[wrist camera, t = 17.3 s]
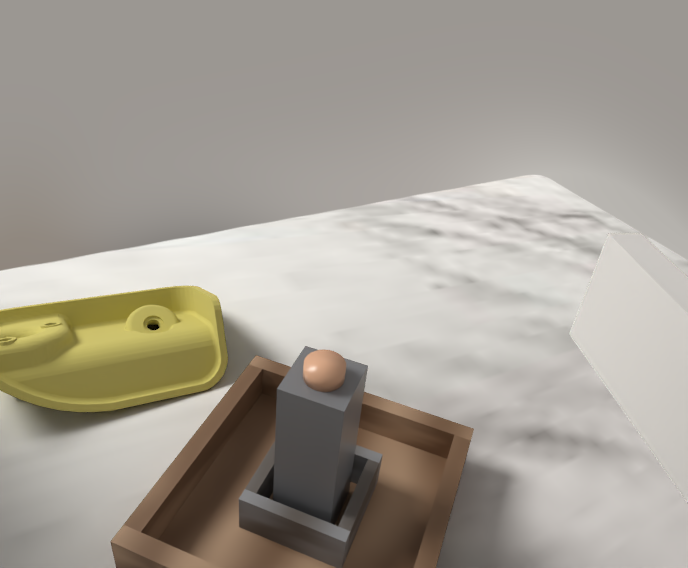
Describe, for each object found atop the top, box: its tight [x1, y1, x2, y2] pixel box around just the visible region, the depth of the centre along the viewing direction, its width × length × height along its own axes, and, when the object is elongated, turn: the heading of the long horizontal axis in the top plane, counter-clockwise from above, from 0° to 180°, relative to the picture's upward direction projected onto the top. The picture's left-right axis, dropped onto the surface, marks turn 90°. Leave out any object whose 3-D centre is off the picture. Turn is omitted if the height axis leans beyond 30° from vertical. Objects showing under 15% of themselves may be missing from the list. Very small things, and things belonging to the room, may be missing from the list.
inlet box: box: [111, 355, 474, 568], centre depth 41 cm, size 18×18×4 cm
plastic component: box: [0, 286, 228, 412], centre depth 51 cm, size 20×7×10 cm
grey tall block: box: [273, 346, 368, 525], centre depth 38 cm, size 4×4×13 cm
